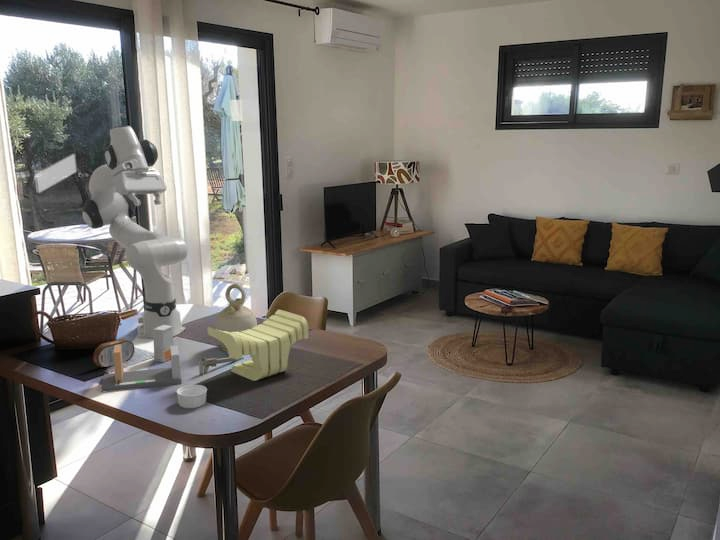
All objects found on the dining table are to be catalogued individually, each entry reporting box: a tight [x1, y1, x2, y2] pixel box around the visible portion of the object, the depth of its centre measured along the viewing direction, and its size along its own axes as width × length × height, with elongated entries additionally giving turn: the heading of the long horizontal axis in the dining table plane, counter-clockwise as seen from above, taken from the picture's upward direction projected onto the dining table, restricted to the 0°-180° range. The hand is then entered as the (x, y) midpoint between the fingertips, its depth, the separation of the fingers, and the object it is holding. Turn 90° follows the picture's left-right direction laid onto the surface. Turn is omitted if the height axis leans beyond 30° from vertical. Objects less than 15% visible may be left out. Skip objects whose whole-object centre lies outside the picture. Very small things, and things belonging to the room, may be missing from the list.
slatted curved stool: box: [207, 308, 309, 382], centre depth 211 cm, size 30×16×18 cm, turn 137°
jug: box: [215, 283, 258, 353], centre depth 234 cm, size 15×16×25 cm
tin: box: [92, 338, 135, 368], centre depth 218 cm, size 15×3×8 cm, turn 145°
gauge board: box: [101, 344, 182, 393], centre depth 203 cm, size 24×12×10 cm, turn 108°
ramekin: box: [176, 384, 208, 409], centre depth 186 cm, size 9×9×4 cm
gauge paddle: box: [113, 344, 124, 384], centre depth 199 cm, size 2×10×10 cm, turn 18°
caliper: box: [198, 356, 244, 376], centre depth 217 cm, size 20×1×6 cm, turn 147°
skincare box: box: [152, 325, 174, 363], centre depth 223 cm, size 6×4×12 cm
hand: (148, 204), depth 219 cm, fingers open, 8 cm apart
